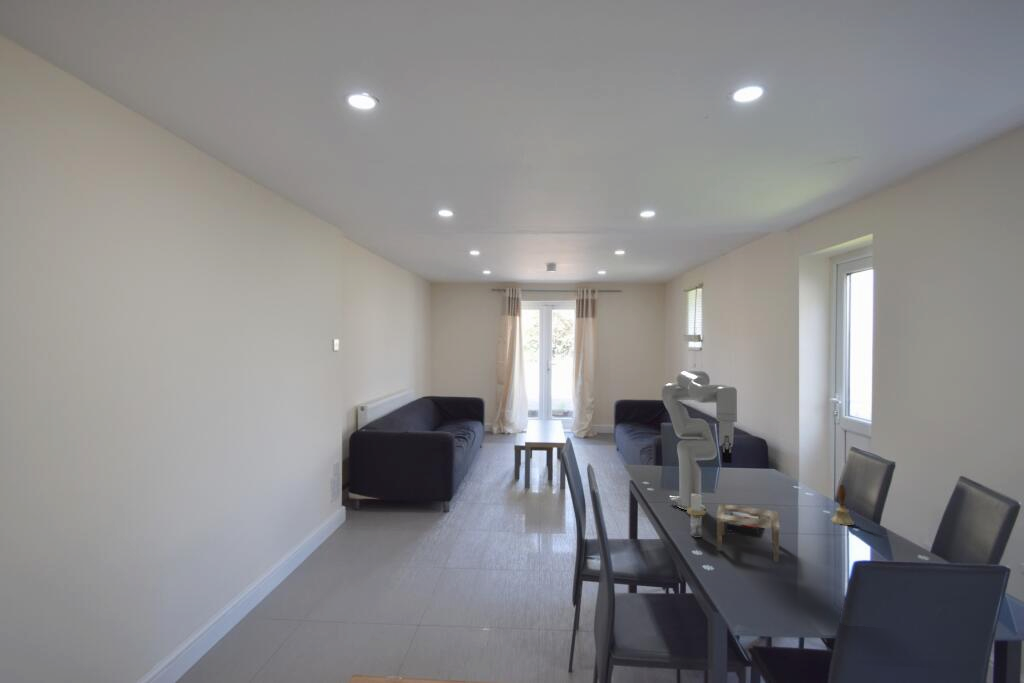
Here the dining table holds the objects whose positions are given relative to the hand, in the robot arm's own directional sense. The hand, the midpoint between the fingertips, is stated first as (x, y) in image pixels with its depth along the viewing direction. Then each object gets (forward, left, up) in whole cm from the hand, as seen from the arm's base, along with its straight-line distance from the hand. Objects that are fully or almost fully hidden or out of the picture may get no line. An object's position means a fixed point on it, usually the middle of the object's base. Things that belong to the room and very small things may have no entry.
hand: (726, 460), depth 186 cm
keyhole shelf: (+7, -11, -29) cm, 32 cm away
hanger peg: (-11, -9, -29) cm, 32 cm away
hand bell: (+43, +37, -29) cm, 64 cm away
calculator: (+6, +10, -30) cm, 32 cm away
